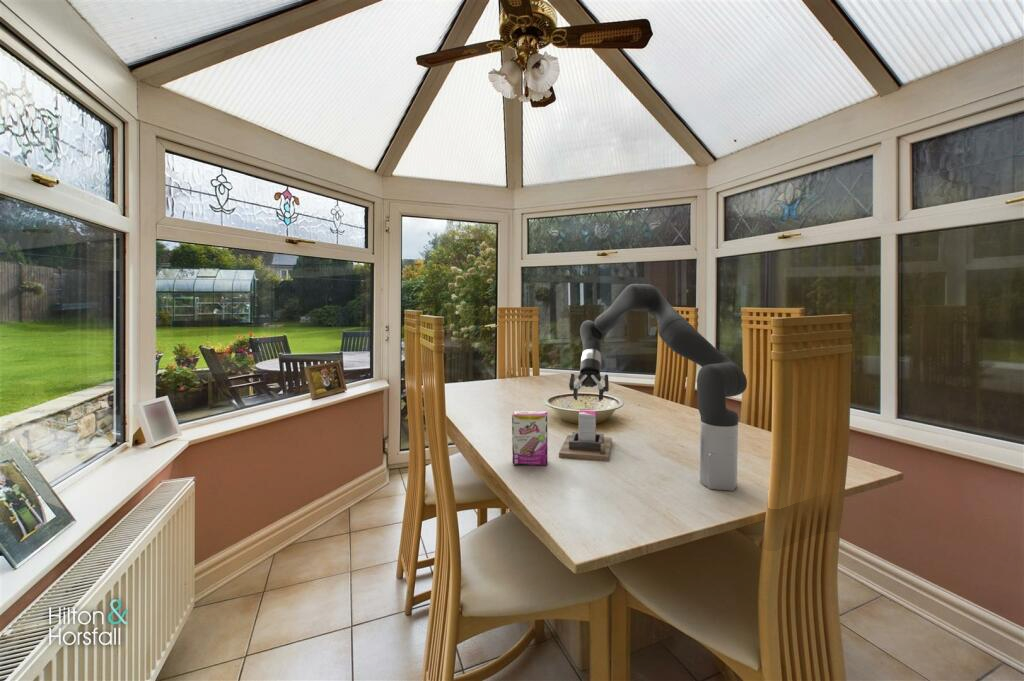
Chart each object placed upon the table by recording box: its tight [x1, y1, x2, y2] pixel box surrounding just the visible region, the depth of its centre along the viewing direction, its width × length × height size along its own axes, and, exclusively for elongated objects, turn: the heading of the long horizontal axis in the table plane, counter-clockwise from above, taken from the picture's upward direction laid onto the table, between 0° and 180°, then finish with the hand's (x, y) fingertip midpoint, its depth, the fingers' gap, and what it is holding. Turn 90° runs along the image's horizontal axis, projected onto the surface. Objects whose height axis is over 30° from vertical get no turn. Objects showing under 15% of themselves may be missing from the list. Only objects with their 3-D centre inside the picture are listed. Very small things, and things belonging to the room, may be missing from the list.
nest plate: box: [558, 432, 613, 462], centre depth 148 cm, size 20×16×4 cm
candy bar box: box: [511, 410, 549, 466], centre depth 136 cm, size 11×5×16 cm, turn 84°
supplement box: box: [577, 409, 597, 442], centre depth 148 cm, size 6×6×12 cm
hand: (587, 399), depth 154 cm, fingers open, 8 cm apart
